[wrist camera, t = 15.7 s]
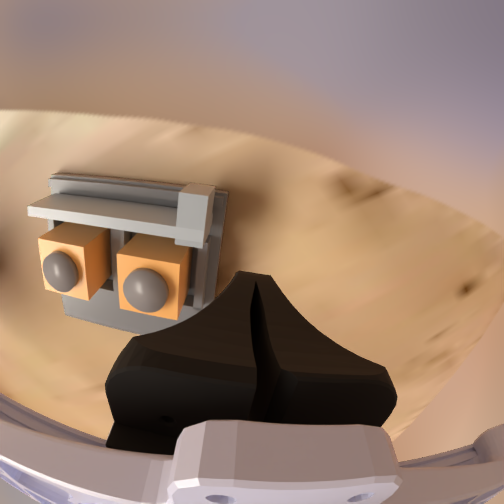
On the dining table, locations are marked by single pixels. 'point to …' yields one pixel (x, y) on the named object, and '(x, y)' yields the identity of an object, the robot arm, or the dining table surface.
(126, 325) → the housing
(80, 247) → the orange knob block
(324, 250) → the dining table surface
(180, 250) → the block
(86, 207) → the cover bar
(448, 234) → the dining table surface
